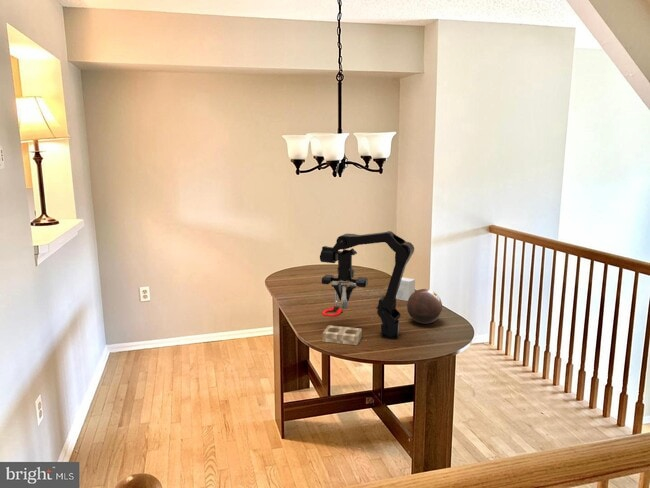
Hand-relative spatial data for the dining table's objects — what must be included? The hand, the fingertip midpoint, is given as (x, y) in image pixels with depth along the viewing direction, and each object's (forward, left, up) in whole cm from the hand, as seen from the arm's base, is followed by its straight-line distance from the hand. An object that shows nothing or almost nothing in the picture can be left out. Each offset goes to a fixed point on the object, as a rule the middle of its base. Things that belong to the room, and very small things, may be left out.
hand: (344, 300), depth 202 cm
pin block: (-2, +12, -12) cm, 17 cm away
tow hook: (+10, -17, -13) cm, 23 cm away
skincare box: (-19, -49, -13) cm, 54 cm away
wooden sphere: (-32, -16, -13) cm, 38 cm away
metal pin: (0, 0, -3) cm, 3 cm away
